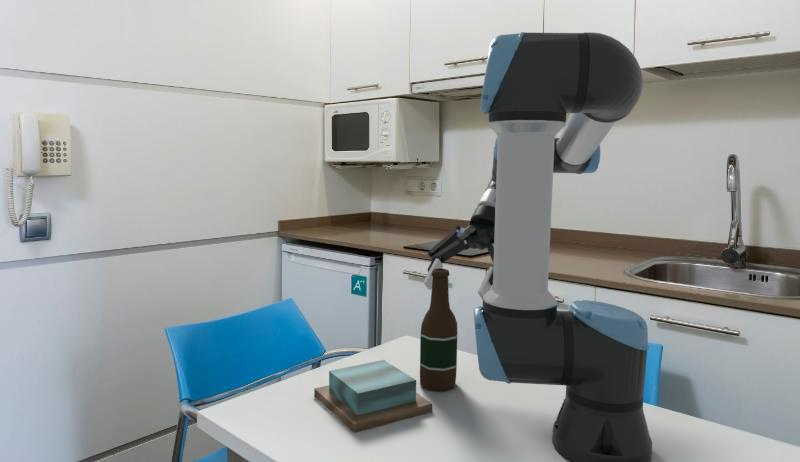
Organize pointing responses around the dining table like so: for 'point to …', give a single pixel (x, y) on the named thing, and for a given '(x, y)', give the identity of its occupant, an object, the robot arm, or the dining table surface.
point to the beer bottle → (438, 338)
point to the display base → (372, 416)
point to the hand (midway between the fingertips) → (453, 291)
